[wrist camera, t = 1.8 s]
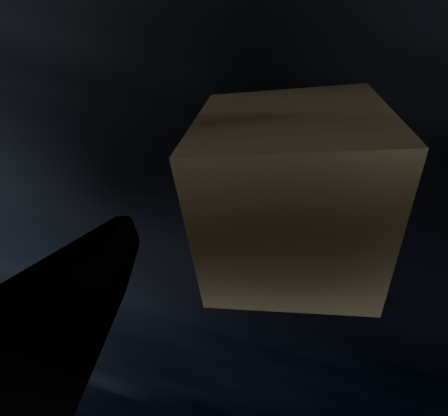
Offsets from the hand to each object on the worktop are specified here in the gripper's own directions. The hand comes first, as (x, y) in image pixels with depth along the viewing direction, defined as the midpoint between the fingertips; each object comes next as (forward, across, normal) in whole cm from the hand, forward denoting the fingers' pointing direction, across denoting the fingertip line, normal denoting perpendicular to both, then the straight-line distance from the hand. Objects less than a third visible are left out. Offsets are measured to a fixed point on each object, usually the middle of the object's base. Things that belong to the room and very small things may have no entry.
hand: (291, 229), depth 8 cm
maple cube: (+4, 0, 0) cm, 4 cm away
